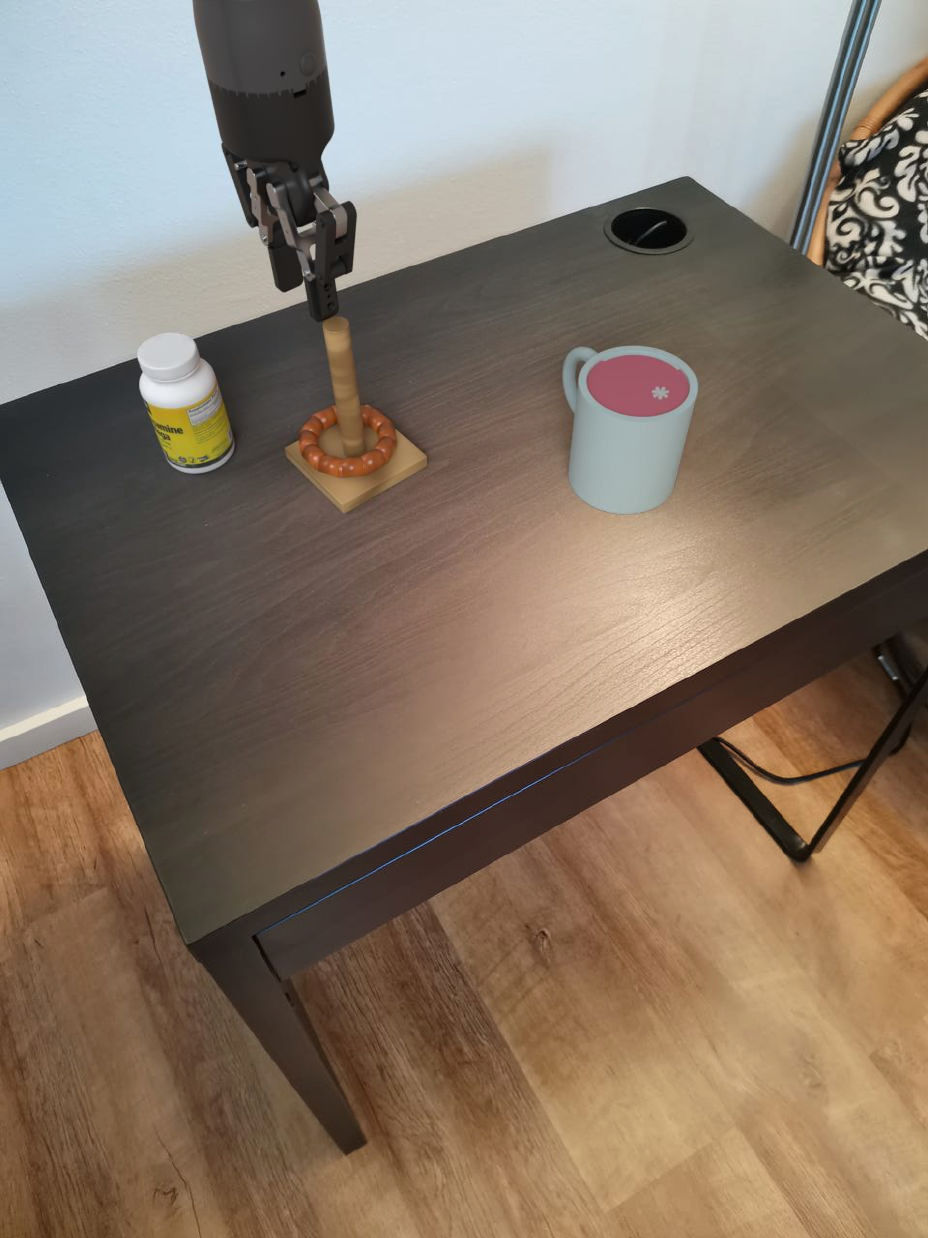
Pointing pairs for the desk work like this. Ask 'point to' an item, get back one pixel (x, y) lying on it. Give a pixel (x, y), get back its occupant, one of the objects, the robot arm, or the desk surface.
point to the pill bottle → (184, 403)
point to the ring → (354, 464)
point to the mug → (627, 425)
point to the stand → (353, 433)
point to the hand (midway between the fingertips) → (307, 300)
